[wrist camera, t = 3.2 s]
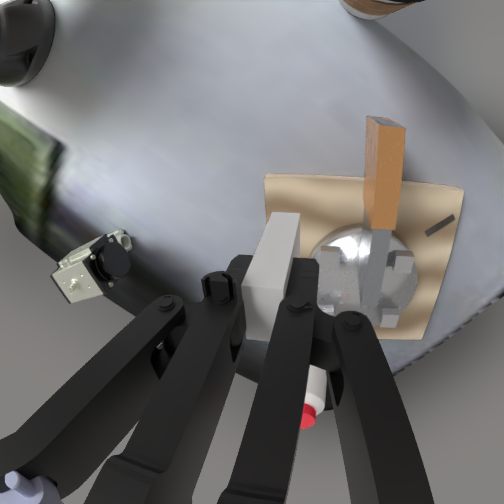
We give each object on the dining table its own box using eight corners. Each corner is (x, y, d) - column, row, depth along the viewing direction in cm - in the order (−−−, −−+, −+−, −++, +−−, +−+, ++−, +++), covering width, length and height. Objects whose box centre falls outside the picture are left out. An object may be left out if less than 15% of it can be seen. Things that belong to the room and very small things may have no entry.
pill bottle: (338, 363, 46) (334, 422, 37) (304, 381, 50) (296, 436, 41) (303, 339, 45) (294, 400, 36) (270, 360, 49) (256, 417, 40)
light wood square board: (266, 173, 33) (263, 178, 32) (459, 187, 28) (464, 192, 27) (272, 324, 44) (270, 332, 43) (419, 332, 40) (421, 340, 38)
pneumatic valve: (156, 243, 41) (109, 297, 31) (104, 263, 46) (59, 310, 36) (136, 208, 39) (81, 255, 29) (86, 234, 44) (36, 277, 34)
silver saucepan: (400, 317, 37) (409, 366, 30) (303, 312, 40) (296, 362, 33) (435, 122, 24) (471, 138, 17) (306, 111, 27) (300, 121, 20)
